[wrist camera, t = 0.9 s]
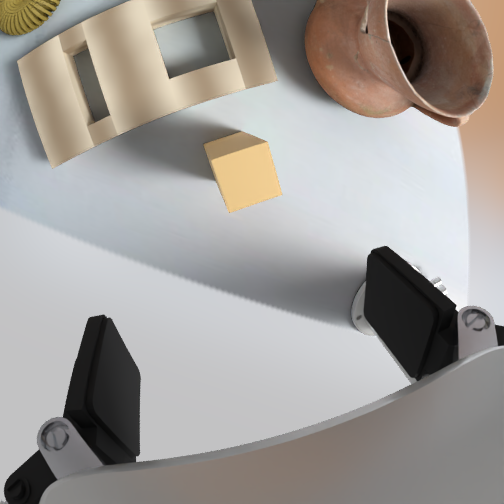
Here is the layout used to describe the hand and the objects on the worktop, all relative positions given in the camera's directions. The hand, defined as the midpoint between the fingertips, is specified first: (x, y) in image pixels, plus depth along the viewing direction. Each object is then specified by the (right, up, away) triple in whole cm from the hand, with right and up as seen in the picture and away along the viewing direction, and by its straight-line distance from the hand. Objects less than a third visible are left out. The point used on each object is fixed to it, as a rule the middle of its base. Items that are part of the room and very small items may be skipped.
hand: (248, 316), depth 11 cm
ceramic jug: (+12, +23, +17) cm, 31 cm away
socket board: (-10, +20, +13) cm, 26 cm away
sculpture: (-22, +28, +7) cm, 36 cm away
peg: (-2, +12, +19) cm, 23 cm away
